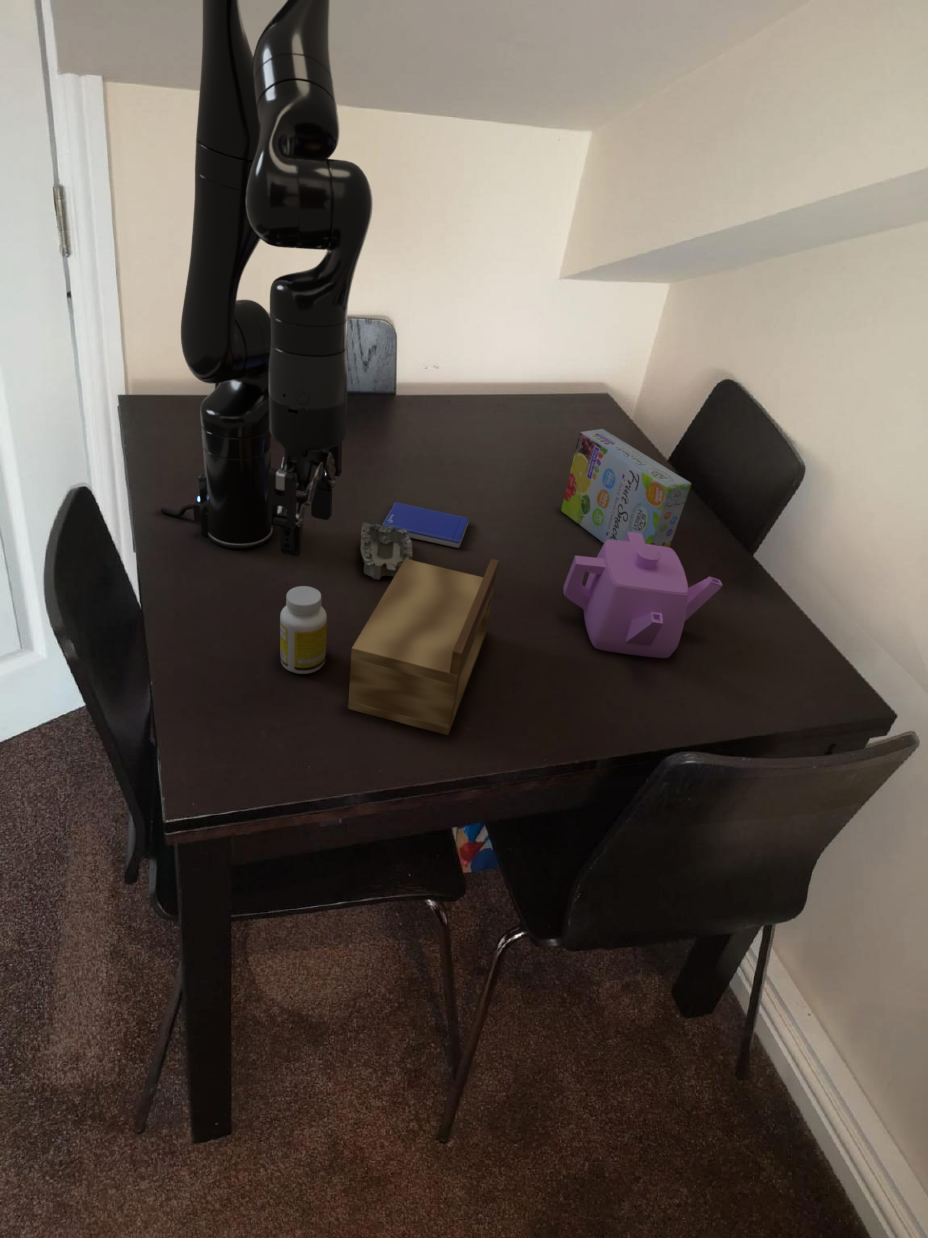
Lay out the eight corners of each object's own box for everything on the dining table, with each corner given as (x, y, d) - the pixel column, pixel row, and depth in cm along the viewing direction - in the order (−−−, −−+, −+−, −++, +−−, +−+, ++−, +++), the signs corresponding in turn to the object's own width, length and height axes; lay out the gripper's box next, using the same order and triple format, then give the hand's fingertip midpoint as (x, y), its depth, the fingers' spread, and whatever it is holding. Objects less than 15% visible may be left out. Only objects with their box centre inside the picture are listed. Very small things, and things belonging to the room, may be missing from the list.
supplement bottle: (333, 657, 99) (336, 592, 93) (308, 681, 94) (310, 614, 89) (297, 642, 100) (298, 577, 94) (271, 665, 96) (270, 598, 90)
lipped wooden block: (347, 709, 91) (353, 625, 84) (399, 614, 108) (407, 538, 101) (448, 735, 90) (461, 653, 83) (485, 636, 106) (499, 560, 99)
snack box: (666, 567, 127) (694, 482, 119) (640, 574, 125) (667, 487, 116) (582, 506, 141) (602, 425, 132) (558, 511, 138) (576, 429, 129)
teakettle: (615, 580, 122) (635, 509, 115) (708, 636, 113) (737, 563, 106) (542, 616, 112) (560, 541, 104) (639, 682, 103) (666, 604, 95)
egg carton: (411, 583, 114) (414, 559, 112) (359, 579, 113) (360, 555, 111) (409, 544, 123) (411, 520, 120) (360, 540, 122) (361, 517, 119)
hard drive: (382, 524, 123) (459, 540, 123) (395, 500, 130) (469, 516, 129) (381, 532, 124) (458, 549, 123) (394, 509, 131) (468, 525, 130)
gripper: (300, 362, 84) (299, 500, 93) (239, 407, 72) (245, 559, 82) (368, 376, 83) (360, 513, 92) (317, 424, 71) (314, 575, 81)
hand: (306, 535), depth 87 cm, fingers open, 8 cm apart
